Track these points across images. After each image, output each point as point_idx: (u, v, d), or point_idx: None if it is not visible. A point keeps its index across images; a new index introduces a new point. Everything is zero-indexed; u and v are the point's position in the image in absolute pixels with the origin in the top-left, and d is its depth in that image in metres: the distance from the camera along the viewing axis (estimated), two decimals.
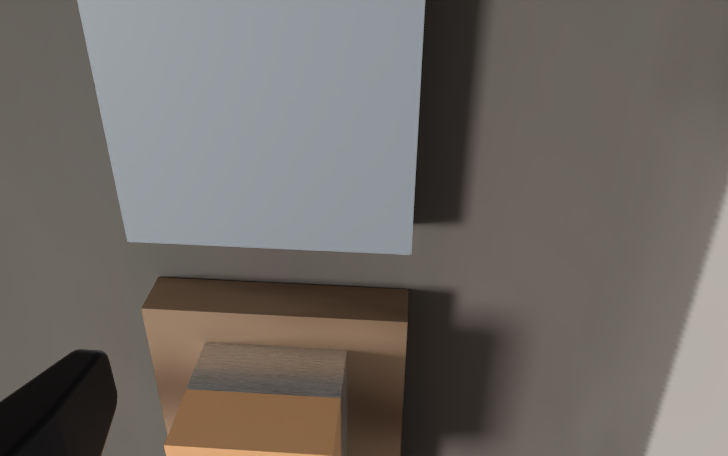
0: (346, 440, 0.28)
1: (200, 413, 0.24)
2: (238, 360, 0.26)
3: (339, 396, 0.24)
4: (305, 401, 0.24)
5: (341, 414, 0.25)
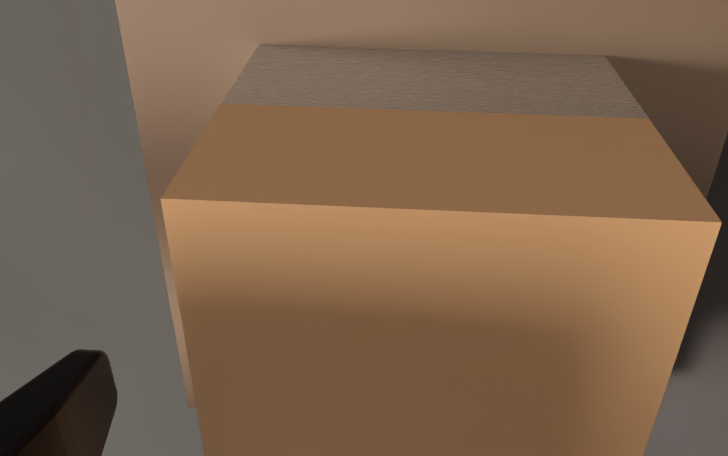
0: None
1: (266, 140, 0.08)
2: (347, 66, 0.10)
3: (644, 115, 0.09)
4: (556, 123, 0.09)
5: None
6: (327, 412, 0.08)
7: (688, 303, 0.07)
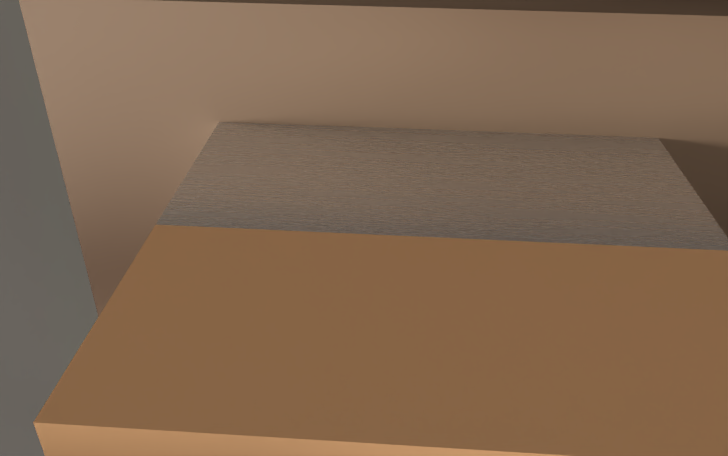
0: None
1: (207, 296, 0.06)
2: (329, 158, 0.08)
3: None
4: (611, 260, 0.06)
5: None
6: None
7: None
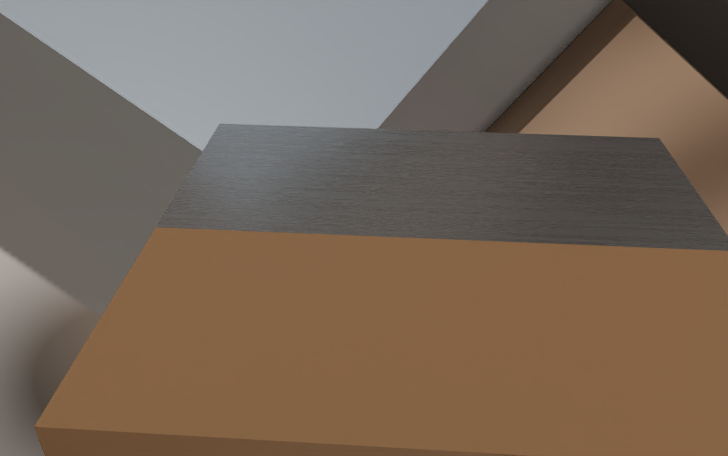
0: None
1: (208, 297, 0.06)
2: (329, 159, 0.08)
3: None
4: (613, 261, 0.06)
5: None
6: None
7: None
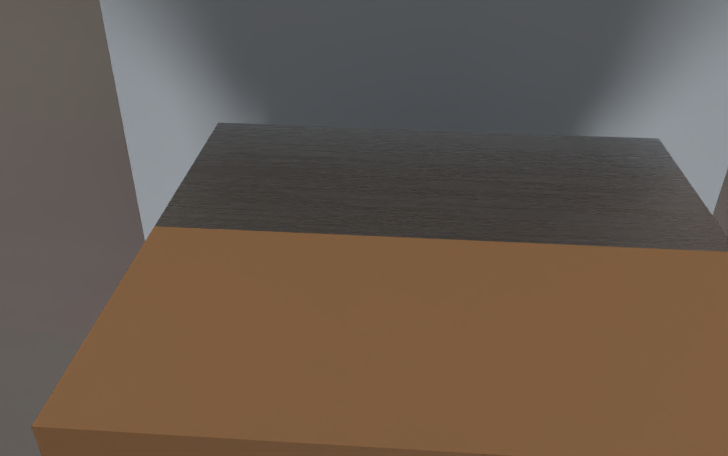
0: None
1: (206, 297, 0.06)
2: (329, 159, 0.08)
3: None
4: (613, 262, 0.06)
5: None
6: None
7: None
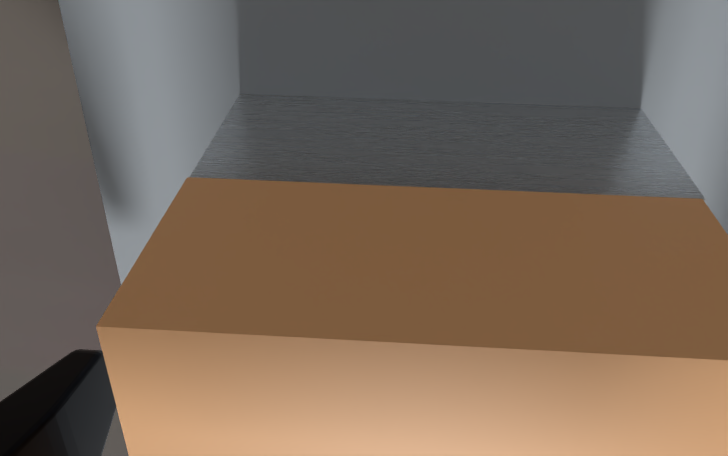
0: None
1: (237, 233, 0.07)
2: (341, 124, 0.09)
3: (699, 194, 0.07)
4: (591, 206, 0.07)
5: None
6: None
7: None
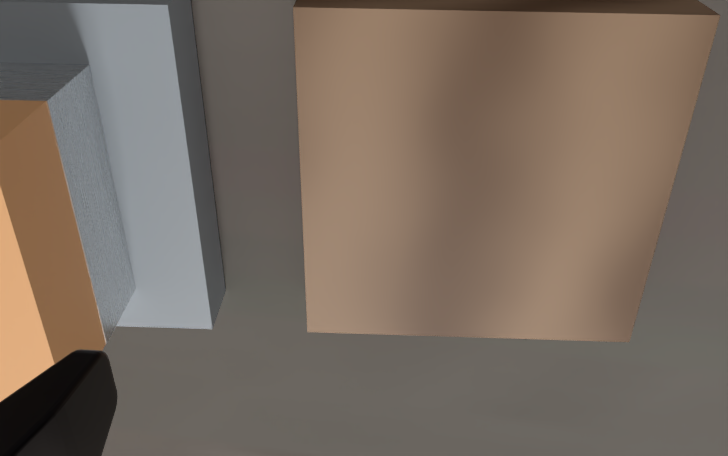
0: (117, 229, 0.19)
1: None
2: None
3: (46, 99, 0.15)
4: None
5: (64, 142, 0.16)
6: None
7: (2, 196, 0.14)
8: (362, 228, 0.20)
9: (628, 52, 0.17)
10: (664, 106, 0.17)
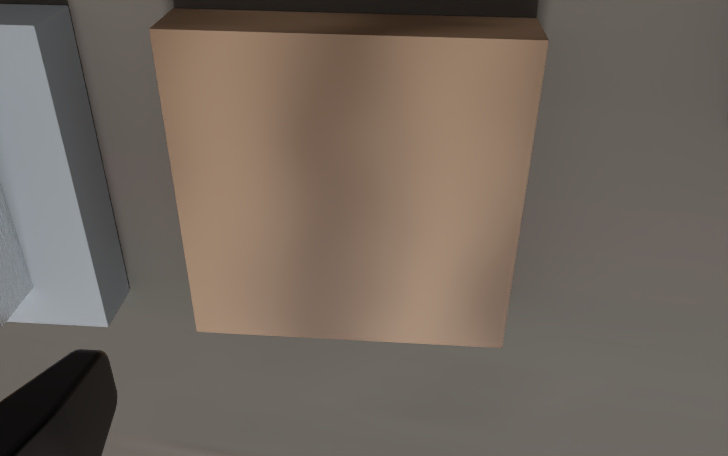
0: (7, 231, 0.21)
1: None
2: None
3: None
4: None
5: None
6: None
7: None
8: (237, 235, 0.21)
9: (466, 74, 0.17)
10: (507, 125, 0.18)
